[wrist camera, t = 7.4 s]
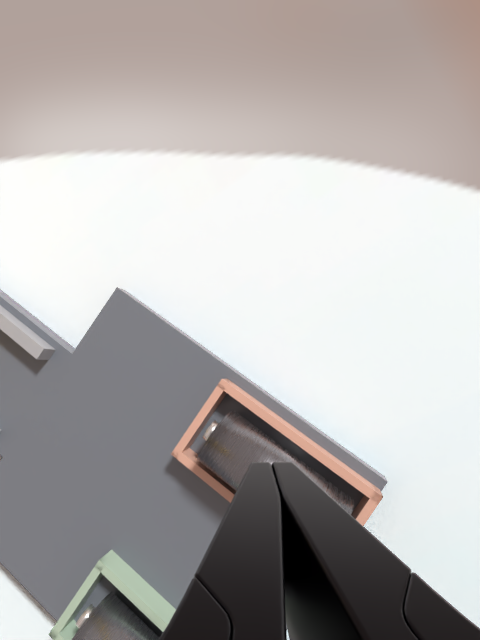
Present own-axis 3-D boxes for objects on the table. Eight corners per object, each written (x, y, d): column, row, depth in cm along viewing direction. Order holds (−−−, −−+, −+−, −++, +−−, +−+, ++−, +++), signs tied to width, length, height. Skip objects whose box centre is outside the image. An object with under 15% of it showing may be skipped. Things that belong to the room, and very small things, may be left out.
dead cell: (352, 491, 19) (355, 512, 16) (319, 539, 19) (316, 569, 16) (232, 401, 21) (217, 408, 18) (202, 447, 21) (182, 460, 18)
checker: (384, 476, 20) (409, 518, 14) (201, 745, 20) (150, 899, 14) (-20, 186, 27) (-115, 134, 21) (-153, 385, 27) (-285, 388, 21)
